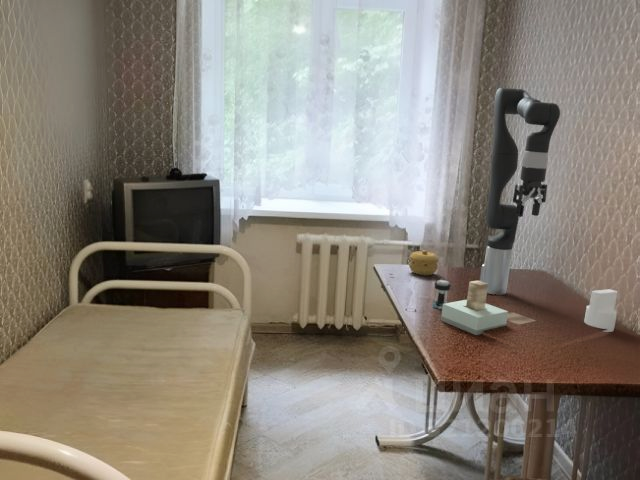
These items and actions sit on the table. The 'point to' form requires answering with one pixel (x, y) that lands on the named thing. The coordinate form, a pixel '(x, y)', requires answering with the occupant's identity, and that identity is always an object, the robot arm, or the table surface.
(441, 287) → the push button
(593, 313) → the cylinder with rectangular tab
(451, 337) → the table surface
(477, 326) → the socket block
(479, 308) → the pin
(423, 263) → the pot
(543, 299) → the table surface
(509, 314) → the coaster
